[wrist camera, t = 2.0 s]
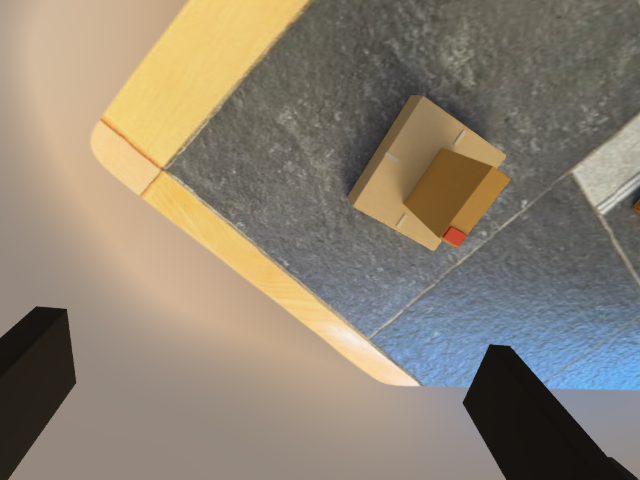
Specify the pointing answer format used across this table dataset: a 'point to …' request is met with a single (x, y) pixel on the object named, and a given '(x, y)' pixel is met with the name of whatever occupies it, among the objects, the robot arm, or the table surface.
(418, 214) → the lock knob
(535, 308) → the table surface
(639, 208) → the button block
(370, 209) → the panel
